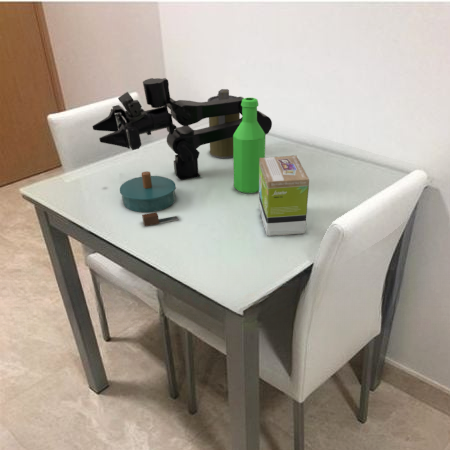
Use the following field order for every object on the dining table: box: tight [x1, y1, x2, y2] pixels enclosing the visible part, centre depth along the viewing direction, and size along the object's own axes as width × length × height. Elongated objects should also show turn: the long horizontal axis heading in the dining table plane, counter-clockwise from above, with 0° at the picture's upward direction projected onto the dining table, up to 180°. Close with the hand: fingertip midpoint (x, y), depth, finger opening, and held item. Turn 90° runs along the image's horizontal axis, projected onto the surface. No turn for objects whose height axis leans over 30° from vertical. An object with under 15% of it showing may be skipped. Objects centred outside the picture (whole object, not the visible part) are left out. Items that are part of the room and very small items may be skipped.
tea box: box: [258, 155, 310, 237], centre depth 123 cm, size 15×10×15 cm, turn 5°
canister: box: [207, 88, 241, 160], centre depth 161 cm, size 11×10×20 cm
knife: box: [141, 211, 179, 227], centre depth 128 cm, size 9×2×2 cm, turn 110°
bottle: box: [232, 97, 267, 194], centre depth 137 cm, size 9×9×25 cm
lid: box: [119, 170, 177, 201], centre depth 136 cm, size 15×15×5 cm
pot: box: [121, 189, 176, 213], centre depth 138 cm, size 14×14×4 cm
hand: (96, 134), depth 135 cm, fingers open, 9 cm apart
